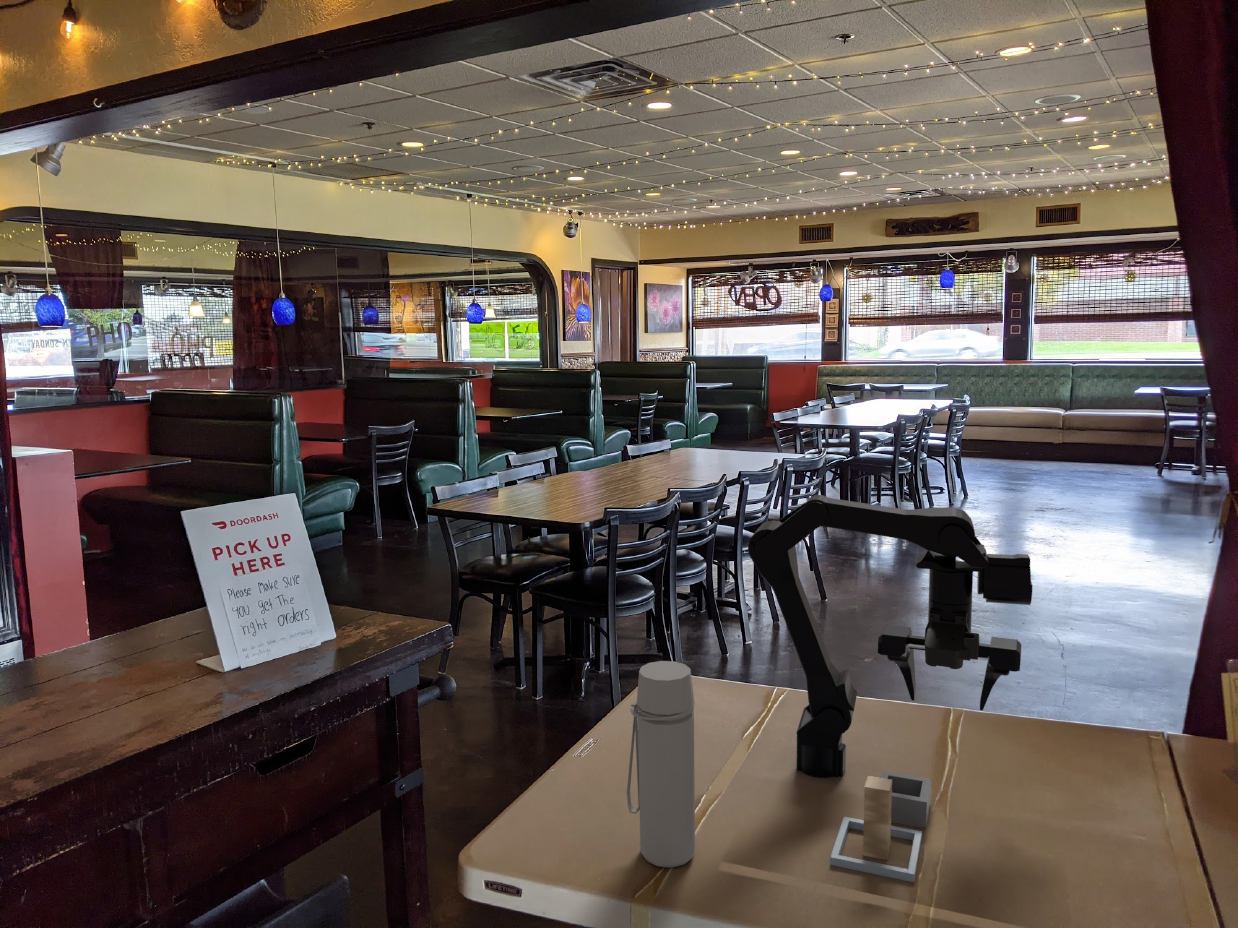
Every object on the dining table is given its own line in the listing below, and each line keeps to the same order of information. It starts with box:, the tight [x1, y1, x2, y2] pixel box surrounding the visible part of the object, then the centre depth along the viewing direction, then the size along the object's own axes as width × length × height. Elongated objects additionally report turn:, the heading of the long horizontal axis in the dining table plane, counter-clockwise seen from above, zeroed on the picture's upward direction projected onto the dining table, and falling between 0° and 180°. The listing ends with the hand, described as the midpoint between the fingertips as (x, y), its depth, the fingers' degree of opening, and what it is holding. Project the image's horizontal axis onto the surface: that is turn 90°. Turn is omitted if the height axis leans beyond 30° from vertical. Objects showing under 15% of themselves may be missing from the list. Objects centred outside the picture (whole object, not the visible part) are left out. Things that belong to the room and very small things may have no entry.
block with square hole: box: [879, 770, 932, 829], centre depth 127 cm, size 7×7×4 cm
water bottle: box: [626, 660, 696, 868], centre depth 118 cm, size 9×8×25 cm
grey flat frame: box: [829, 816, 923, 883], centre depth 118 cm, size 10×10×2 cm
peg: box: [862, 775, 892, 861], centre depth 117 cm, size 3×3×10 cm
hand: (946, 704), depth 132 cm, fingers open, 9 cm apart
